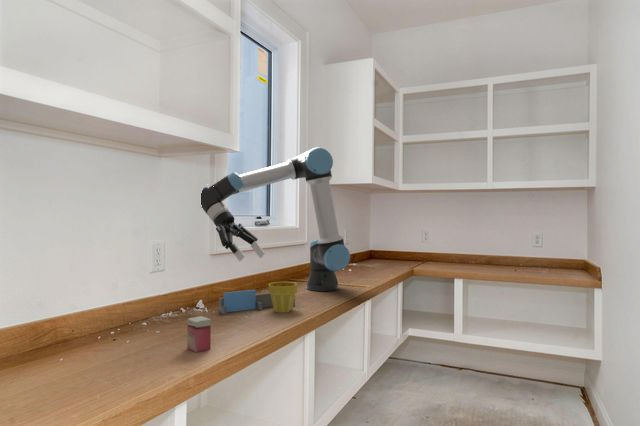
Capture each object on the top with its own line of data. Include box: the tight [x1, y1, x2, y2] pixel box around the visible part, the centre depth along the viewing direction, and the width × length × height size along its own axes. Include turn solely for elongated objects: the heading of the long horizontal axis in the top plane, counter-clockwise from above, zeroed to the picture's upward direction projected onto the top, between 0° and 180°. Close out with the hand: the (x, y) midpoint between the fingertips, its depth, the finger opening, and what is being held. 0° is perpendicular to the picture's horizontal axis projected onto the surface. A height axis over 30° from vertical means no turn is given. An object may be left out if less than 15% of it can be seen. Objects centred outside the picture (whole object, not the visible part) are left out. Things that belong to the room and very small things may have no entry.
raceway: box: [218, 289, 296, 316], centre depth 154 cm, size 28×5×7 cm, turn 121°
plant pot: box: [268, 281, 298, 313], centre depth 151 cm, size 10×10×10 cm
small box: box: [186, 315, 212, 353], centre depth 108 cm, size 5×4×8 cm
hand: (252, 257), depth 156 cm, fingers open, 13 cm apart
